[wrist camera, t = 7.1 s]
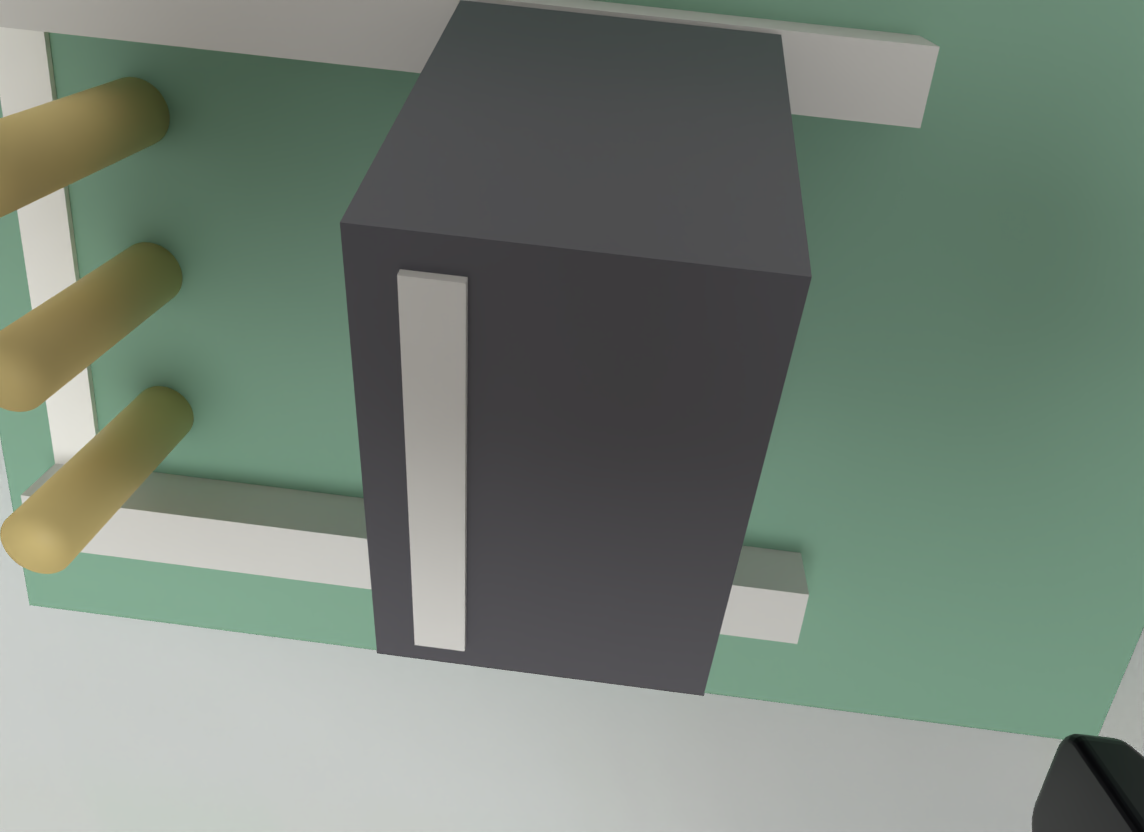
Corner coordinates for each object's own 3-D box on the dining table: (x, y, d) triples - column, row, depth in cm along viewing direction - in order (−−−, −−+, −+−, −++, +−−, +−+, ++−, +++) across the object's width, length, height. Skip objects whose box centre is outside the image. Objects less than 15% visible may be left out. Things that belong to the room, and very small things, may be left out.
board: (1414, -109, 14) (1754, -111, 9) (1079, 713, 20) (1191, 937, 16) (-84, -260, 14) (-407, -326, 10) (51, 580, 21) (-112, 760, 16)
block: (781, 35, 13) (811, 283, 9) (706, 406, 17) (703, 702, 13) (460, 0, 13) (336, 227, 9) (460, 375, 17) (375, 660, 13)
